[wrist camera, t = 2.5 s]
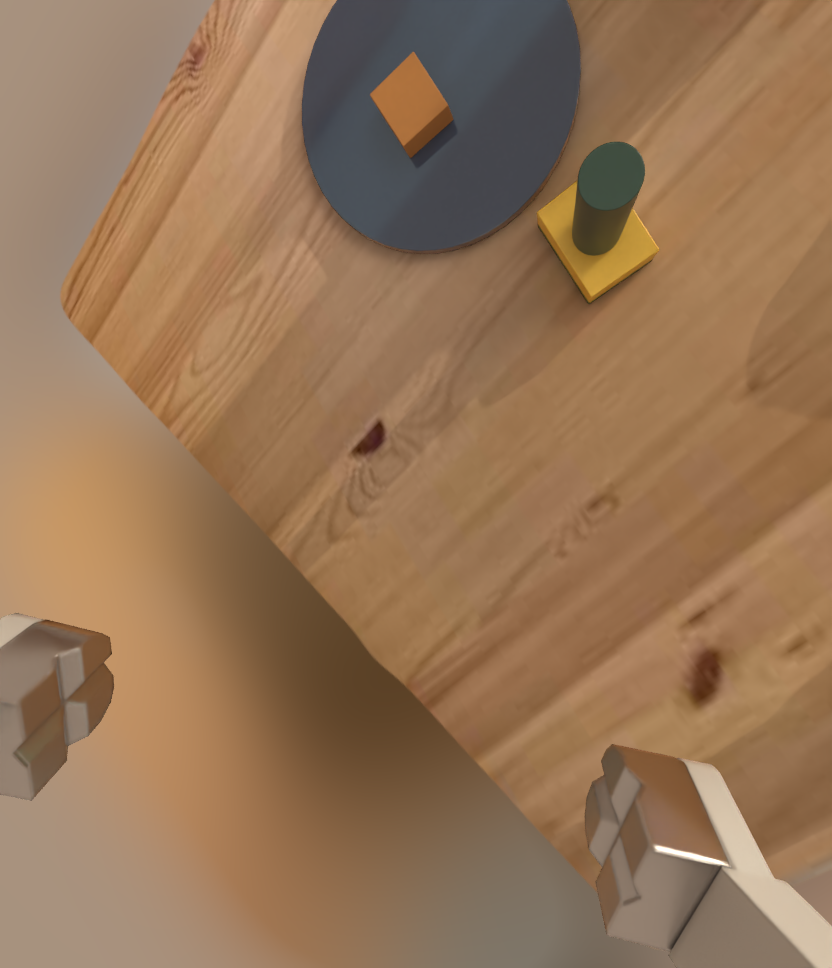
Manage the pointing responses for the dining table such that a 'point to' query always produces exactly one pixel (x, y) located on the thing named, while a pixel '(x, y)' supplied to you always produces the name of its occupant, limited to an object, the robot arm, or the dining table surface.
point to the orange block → (412, 105)
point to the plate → (473, 104)
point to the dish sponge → (600, 221)
